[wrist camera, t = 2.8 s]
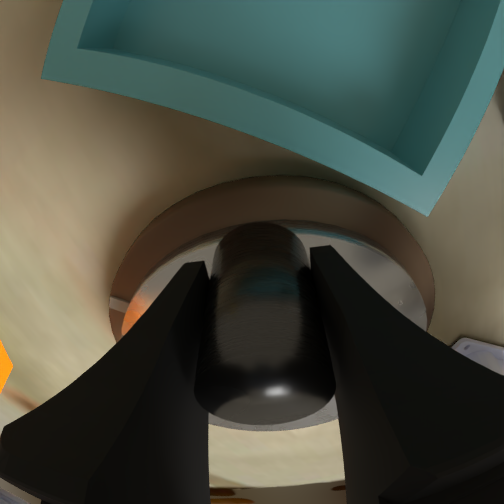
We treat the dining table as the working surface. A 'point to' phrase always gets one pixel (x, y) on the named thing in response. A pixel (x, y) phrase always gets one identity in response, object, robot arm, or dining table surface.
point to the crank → (271, 318)
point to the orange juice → (4, 366)
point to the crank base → (261, 209)
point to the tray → (304, 75)
